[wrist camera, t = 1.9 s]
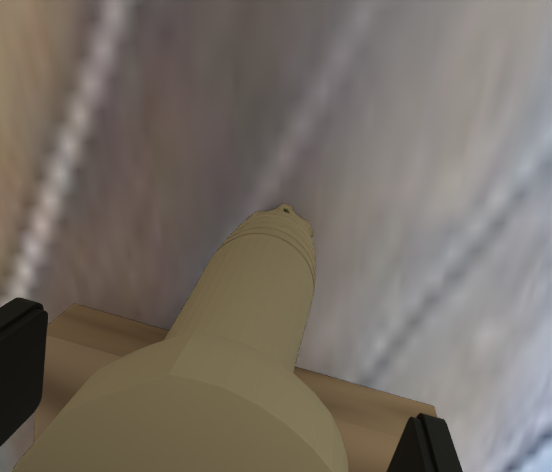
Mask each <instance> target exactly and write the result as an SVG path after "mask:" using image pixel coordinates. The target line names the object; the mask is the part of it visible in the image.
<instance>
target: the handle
mask: <svg viewBox="0 0 552 472" xmlns="http://www.w3.org/2000/svg"><path fill="white" fill-rule="evenodd" d="M312 236H313V230H312V227H311V225H310V223H309V221H308V220H304V219H302V218H300V217H299V216H298V215H297V214H296V213H295V212H294V211H293V209H292V206H290V205H287V204H281V205H280V206H279V207H277V208H275V209H273V210H270V211H257V212H255V213H253V214H252V215H251V216H250V217H248V218H247V220H246V221H245V222H243V223H242V224H241V225H240V226H239V227H238V228H237V229H236V230H235V231H234V232H233V233H232V234H231V235H230V236H229V237H228V238H227V239H226V240H225V241H224V243H223V244H222V245H221V246H220V248H219V249H218V250H217V252H216V253H215V254H214V255H213V257H212V258H211V260H210V261H209V263H208V265H207V266H206V268H205V270H204V272H203V274H202V275H201V277H200V279H199V281H198V282H197V284H196V286H195V288H194V289H193V291H192V293H191V295H190V296H189V298H188V300H187V302H186V303H185V305H184V307H183V309H182V310H181V312H180V314H179V315H178V317H177V319H176V320H175V322H174V324H173V326H172V327H171V329H170V331H169V332H168V334H167V336H166V337H165V339H164V341H161V342H157V343H154V344H152V345H149V346H147V347H144V348H142V349H139V350H136V351H134V352H132V353H130V354H128V355H126V356H124V357H122V358H120V359H118V360H116V361H114V362H112V363H110V364H108V365H106V366H104V367H102V368H100V369H99V370H98V371H96V372H95V373H94V374H93V375H92V376H91V377H90V378H89V379H88V380H87V381H86V382H85V383H84V385H83V386H82V387H81V388H80V389H79V390H78V392H77V393H76V394H75V395H74V396H73V397H72V399H71V400H70V401H69V402H68V403H67V404H66V406H65V407H64V408H63V409H62V410H61V411H60V413H59V414H58V415H57V416H56V417H55V419H54V420H53V421H52V422H51V423H50V424H49V426H48V427H47V428H46V429H45V430H44V431H43V433H42V434H41V435H40V436H39V437H38V439H37V440H36V441H35V442H34V443H33V445H32V446H31V447H30V448H29V449H28V451H27V452H26V453H25V454H24V455H23V457H22V458H21V459H20V460H19V461H18V463H17V464H16V465H15V467H14V469H13V470H12V472H348V460H347V454H346V451H345V447H344V444H343V440H342V437H341V434H340V432H339V429H338V427H337V425H336V423H335V421H334V419H333V417H332V415H331V413H330V412H329V410H328V409H327V408H326V407H325V405H324V404H323V403H322V402H321V400H320V399H319V398H318V396H317V395H316V394H315V393H314V392H313V391H312V390H311V389H310V388H309V387H308V386H307V385H306V384H305V383H303V382H302V381H301V380H300V379H299V378H298V377H297V376H296V375H295V374H294V373H293V372H294V368H295V364H296V360H297V356H298V352H299V348H300V345H301V341H302V337H303V333H304V330H305V326H306V322H307V319H308V315H309V311H310V307H311V304H312V299H313V293H314V286H315V276H316V256H315V249H314V244H313V241H312V238H311V237H312Z"/></svg>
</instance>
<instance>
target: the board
mask: <svg viewBox="0 0 552 472" xmlns="http://www.w3.org/2000/svg"><path fill="white" fill-rule="evenodd" d="M168 332H169V331H168V330H165V329H161V328H158V327H154V326H151V325H147V324H144V323H140V322H137V321H133V320H130V319H126V318H123V317H119V316H116V315H112V314H109V313H105V312H102V311H98V310H95V309H91V308H88V307H84V306H81V305H77V304H73V305H72V306H71V307H69V308H68V309H67V310H66V311H65V312H63V313H62V314H61V315H60V316H58V317H57V318H56V319H55V320H53V321H52V322H51V323H50V324H49V325H47V338H46V351H45V364H44V377H43V391H42V399H41V402H40V404H39V406H38V407H37V409H36V410H35V424H34V442H35V441H36V440H37V439H38V437H39V436H40V435H41V434H42V433H43V431H44V430H45V429H46V428H47V427H48V426H49V424H50V423H51V422H52V421H53V420H54V419H55V417H56V416H57V415H58V414H59V413H60V411H61V410H62V409H63V408H64V407H65V406H66V404H67V403H68V402H69V401H70V400H71V399H72V397H73V396H74V395H75V394H76V393H77V392H78V390H79V389H80V388H81V387H82V386H83V385H84V383H85V382H86V381H87V380H88V379H89V378H90V377H91V376H92V375H93V374H94V373H95V372H96V371H98V370H99V369H100V368H102V367H104V366H106V365H108V364H110V363H112V362H114V361H116V360H118V359H120V358H122V357H124V356H126V355H128V354H130V353H132V352H134V351H136V350H139V349H142V348H144V347H147V346H149V345H152V344H154V343H157V342H161V341H164V339H165V337H166V336H167V334H168ZM293 373H294V374H295V375H296V376H297V377H298V378H299V379H300V380H301V381H302V382H303V383H305V384H306V385H307V386H308V387H309V388H310V389H311V390H312V391H313V392H314V393H315V394H316V395H317V396H318V398H319V399H320V400H321V402H322V403H323V404H324V405H325V407H326V408H327V409H328V410H329V412H330V413H331V415H332V417H333V419H334V421H335V423H336V425H337V427H338V429H339V432H340V434H341V437H342V440H343V444H344V447H345V451H346V454H347V460H348V472H387V469H388V467H389V464H390V462H391V460H392V457H393V455H394V452H395V450H396V448H397V445H398V443H399V440H400V438H401V435H402V433H403V431H404V428H405V426H406V423H407V421H408V419H409V418H410V417H415V418H416V417H417V415H418V414H419V413H423V414H427V415H430V416H434V417H437V415H436V412H435V408H434V406H431V405H427V404H424V403H420V402H417V401H413V400H410V399H406V398H403V397H399V396H396V395H392V394H389V393H385V392H382V391H378V390H375V389H371V388H368V387H364V386H361V385H357V384H354V383H350V382H347V381H343V380H340V379H336V378H333V377H329V376H326V375H322V374H319V373H315V372H312V371H308V370H305V369H301V368H298V367H295V368H294V372H293Z"/></svg>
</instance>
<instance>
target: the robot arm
mask: <svg viewBox="0 0 552 472" xmlns="http://www.w3.org/2000/svg"><path fill="white" fill-rule="evenodd" d="M47 324H48V313H47V312H46V311H44V309H43V305H42V304H40V303H37V302H34V301H30V300H27V299H23V298H15V299H13V300H12V301H10V302H8V303H7V304H5V305H4V306H2V307H0V446H1V445H2V444H3V443H4V442H5V441H6V440H7V439H8V438H9V437H10V436H11V435H12V434H13V433H14V432H15V431H16V430H17V429H18V428H19V427H20V426H21V425H22V424H23V423H24V422H25V421H26V420H27V419H28V418H29V417H30V416H31V415H32V414H33V413H34V411H35V410H36V409H37V407H38V406H39V404H40V402H41V399H42V391H43V377H44V364H45V351H46V338H47ZM387 472H463V471H462V468H461V465H460V462H459V459H458V456H457V453H456V450H455V447H454V444H453V441H452V439H451V436H450V433H449V430H448V427H447V424H446V422H445V420H443V419H441V418H437V417H434V416H430V415H427V414H423V413H419V414H418V415H417V417H416V418H415V417H410V418H409V419H408V421H407V423H406V426H405V428H404V431H403V433H402V435H401V438H400V440H399V443H398V445H397V448H396V450H395V452H394V455H393V457H392V460H391V462H390V464H389V467H388V469H387Z"/></svg>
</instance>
